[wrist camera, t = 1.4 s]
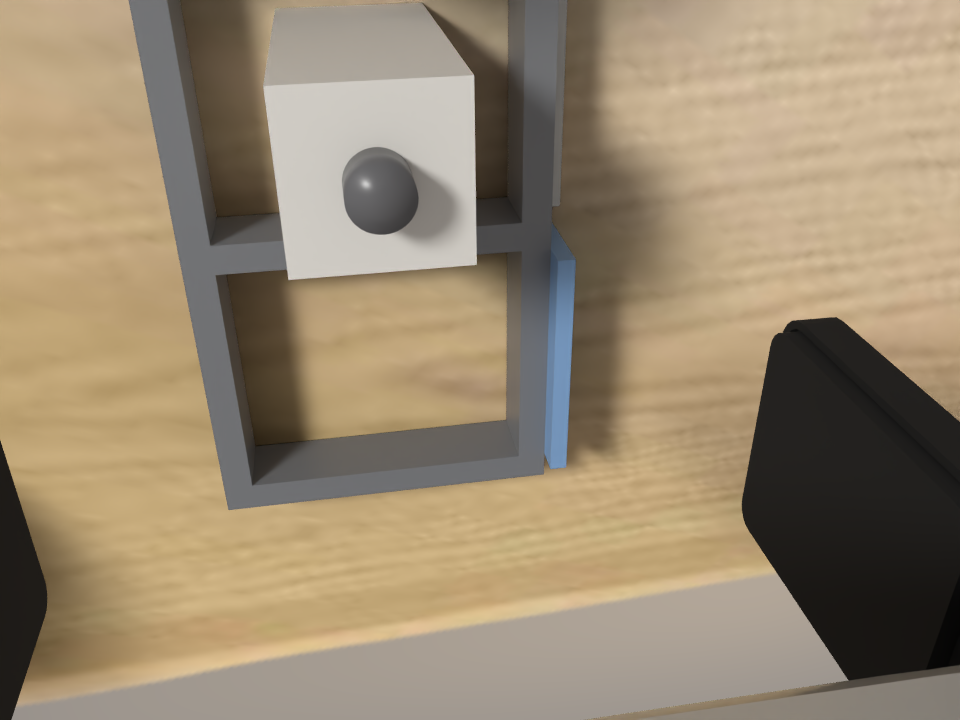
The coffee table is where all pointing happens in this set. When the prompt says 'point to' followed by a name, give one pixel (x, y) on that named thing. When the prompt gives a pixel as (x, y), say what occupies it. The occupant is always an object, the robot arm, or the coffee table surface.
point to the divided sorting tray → (260, 247)
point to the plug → (370, 140)
